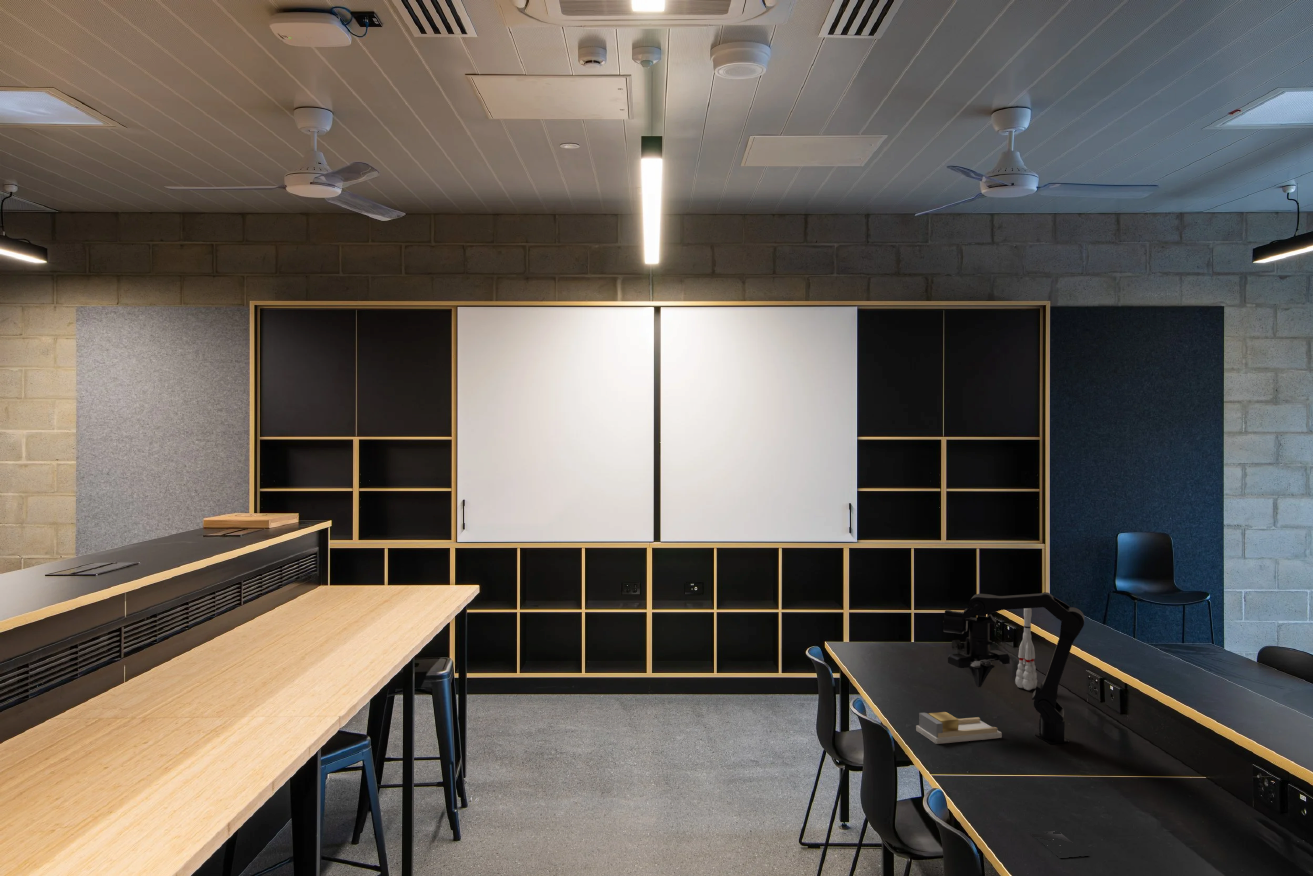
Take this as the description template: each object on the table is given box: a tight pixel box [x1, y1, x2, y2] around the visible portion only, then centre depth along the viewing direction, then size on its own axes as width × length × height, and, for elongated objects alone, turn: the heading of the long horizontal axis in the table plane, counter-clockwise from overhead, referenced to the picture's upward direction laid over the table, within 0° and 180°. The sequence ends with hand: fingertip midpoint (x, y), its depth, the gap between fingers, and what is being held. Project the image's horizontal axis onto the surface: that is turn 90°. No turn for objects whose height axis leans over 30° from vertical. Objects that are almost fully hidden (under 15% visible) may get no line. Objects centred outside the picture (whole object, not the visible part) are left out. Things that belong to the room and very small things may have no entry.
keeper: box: [927, 711, 959, 732], centre depth 224 cm, size 6×6×4 cm
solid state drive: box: [1031, 830, 1078, 846], centre depth 165 cm, size 7×10×1 cm
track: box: [915, 712, 1003, 745], centre depth 225 cm, size 22×10×6 cm, turn 104°
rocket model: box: [1014, 608, 1038, 691], centre depth 268 cm, size 7×7×30 cm
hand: (978, 686), depth 233 cm, fingers closed
